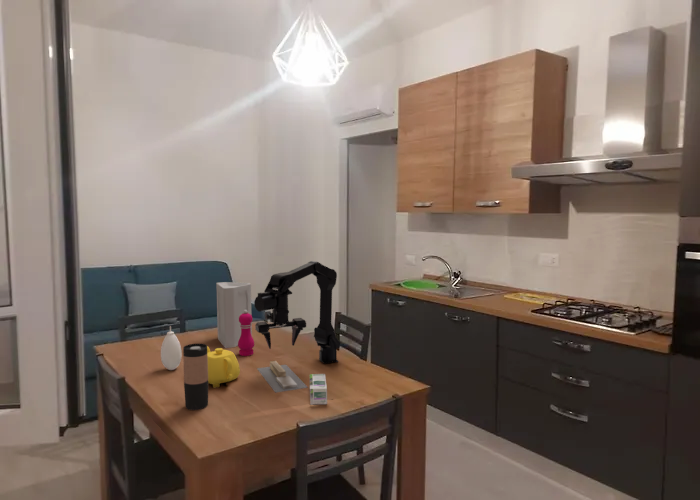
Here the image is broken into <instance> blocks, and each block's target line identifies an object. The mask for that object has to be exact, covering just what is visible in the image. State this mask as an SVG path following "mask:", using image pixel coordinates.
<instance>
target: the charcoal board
mask: <svg viewBox="0 0 700 500" xmlns="http://www.w3.org/2000/svg"><path fill="white" fill-rule="evenodd" d="M279 365H280V364H279ZM280 366H281V367H282V368H283V369H284V370H285V371H286V376H290V377H291V378H292V379H293V380H294V381H295V383H296V384H297V387H295V388H288V389H283V388H282V387H281V385H280V384H279V383H278V382H277V380H276V377H277V376H276V375H275V374H274V372H273V371H272V370H271V369H270V366H266V367H258V368H256V369H257V371H258V372H259V373H260V374H261V376H262V378H264V380H265V382H266V383H267V384H268V385H269V386H270V388H271V389H272V390H273V392H274V393H283V392H288V391H294V390H295V391H296V390H301V389H307V388H309V387H308V386H307V384H305V383H304V382H303V381H302V379H300V378H299V376H298V375H296V373H295V372H294V371H293V370H292V369H291V368H290V367H289V366H288V365H287V364H281V365H280Z"/></svg>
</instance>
